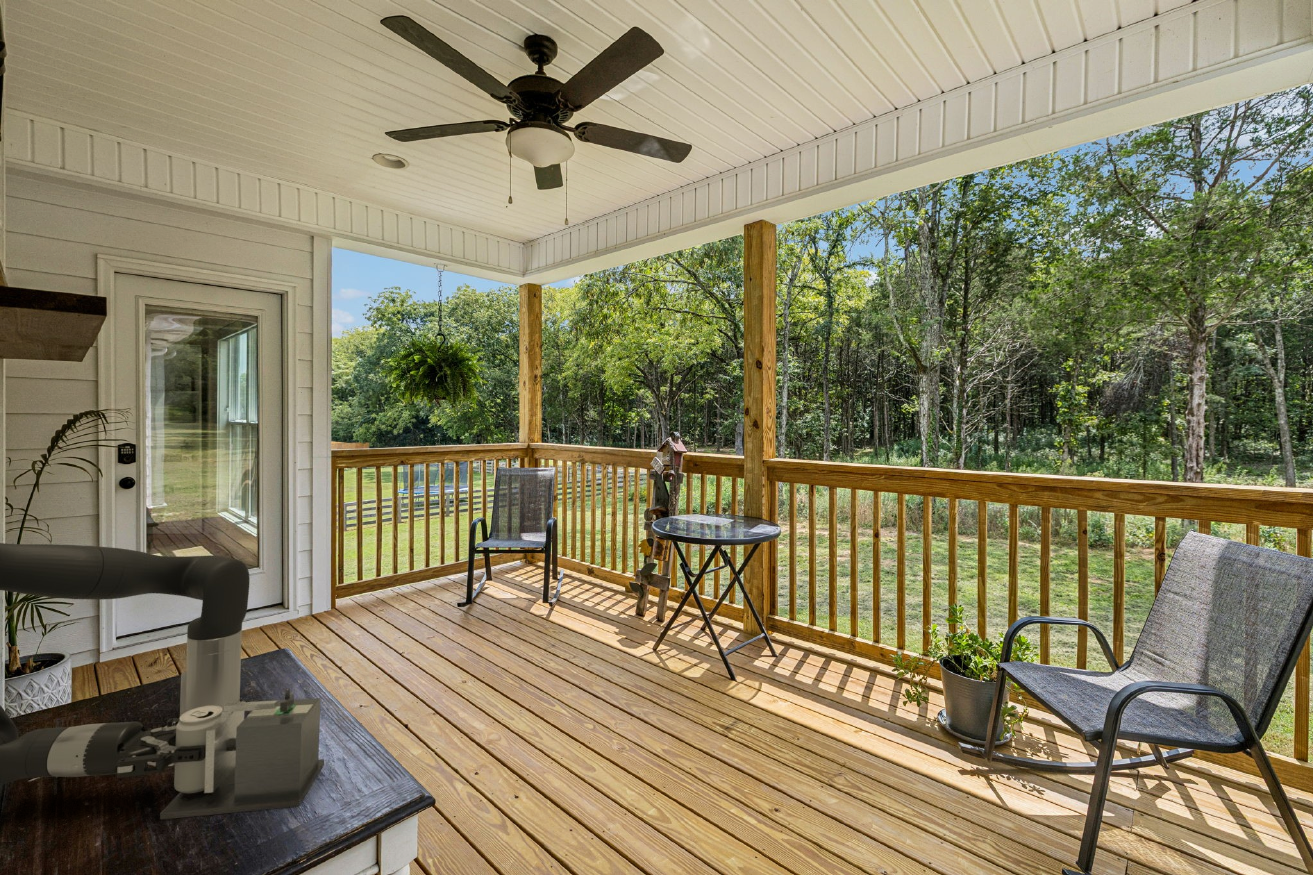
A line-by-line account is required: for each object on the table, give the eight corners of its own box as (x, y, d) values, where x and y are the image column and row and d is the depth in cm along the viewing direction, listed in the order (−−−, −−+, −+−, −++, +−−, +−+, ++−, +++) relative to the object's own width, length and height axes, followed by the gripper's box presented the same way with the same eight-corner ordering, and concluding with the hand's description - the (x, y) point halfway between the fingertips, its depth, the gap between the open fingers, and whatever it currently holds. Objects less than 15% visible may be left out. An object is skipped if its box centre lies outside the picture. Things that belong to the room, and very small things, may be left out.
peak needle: (280, 711, 98) (280, 693, 97) (287, 703, 100) (287, 685, 100) (286, 711, 98) (287, 692, 98) (293, 703, 101) (294, 684, 101)
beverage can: (195, 799, 93) (198, 724, 93) (163, 792, 94) (166, 719, 94) (232, 776, 99) (234, 706, 99) (201, 770, 100) (203, 701, 100)
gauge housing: (160, 819, 90) (162, 734, 90) (202, 774, 102) (204, 699, 102) (298, 806, 94) (301, 725, 94) (324, 764, 106) (326, 692, 106)
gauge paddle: (204, 792, 92) (206, 719, 92) (235, 757, 102) (237, 691, 102) (267, 787, 94) (270, 715, 94) (291, 753, 104) (294, 688, 104)
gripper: (63, 750, 86) (193, 742, 90) (128, 704, 100) (238, 699, 104) (61, 800, 86) (191, 790, 90) (126, 747, 100) (236, 741, 104)
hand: (216, 741), depth 97 cm, fingers closed on beverage can, 6 cm apart
